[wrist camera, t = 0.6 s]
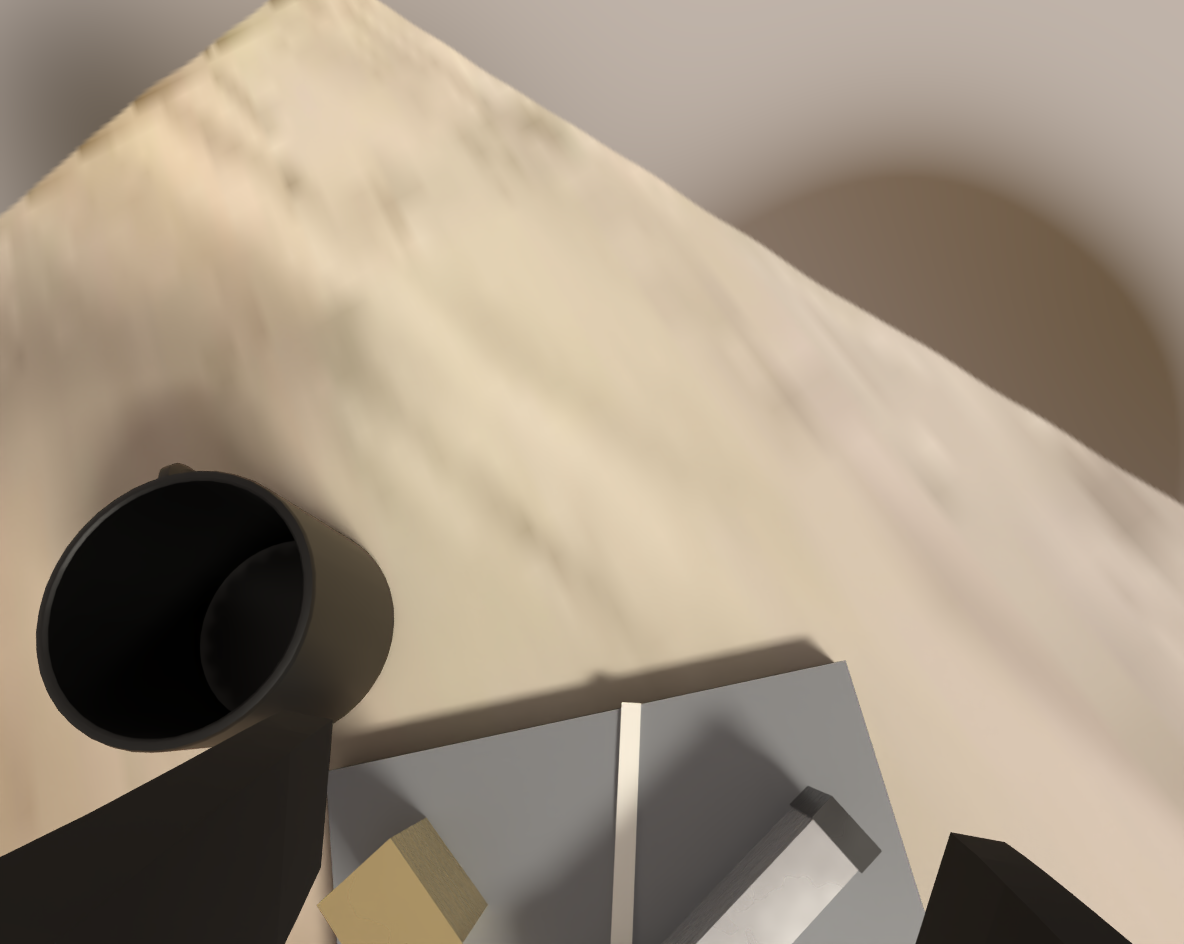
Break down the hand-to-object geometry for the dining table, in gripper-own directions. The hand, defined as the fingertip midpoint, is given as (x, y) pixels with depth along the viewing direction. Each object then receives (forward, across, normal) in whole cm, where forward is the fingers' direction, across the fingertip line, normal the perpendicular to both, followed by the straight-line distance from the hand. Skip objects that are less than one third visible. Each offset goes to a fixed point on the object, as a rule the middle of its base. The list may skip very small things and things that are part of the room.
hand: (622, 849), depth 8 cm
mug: (+22, +15, +9) cm, 28 cm away
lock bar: (+14, -5, +15) cm, 21 cm away
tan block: (+15, +5, +16) cm, 23 cm away
